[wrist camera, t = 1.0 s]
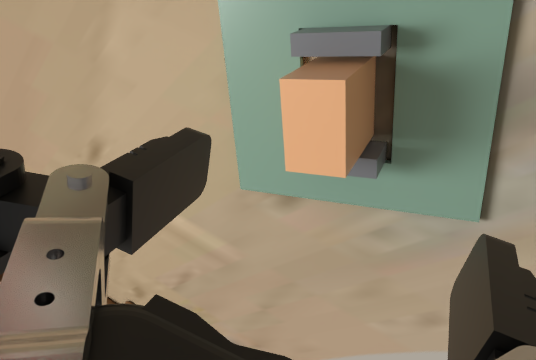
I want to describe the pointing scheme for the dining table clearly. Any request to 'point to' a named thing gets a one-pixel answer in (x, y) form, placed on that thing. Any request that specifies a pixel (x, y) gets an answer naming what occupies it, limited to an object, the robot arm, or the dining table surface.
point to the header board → (405, 99)
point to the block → (328, 114)
